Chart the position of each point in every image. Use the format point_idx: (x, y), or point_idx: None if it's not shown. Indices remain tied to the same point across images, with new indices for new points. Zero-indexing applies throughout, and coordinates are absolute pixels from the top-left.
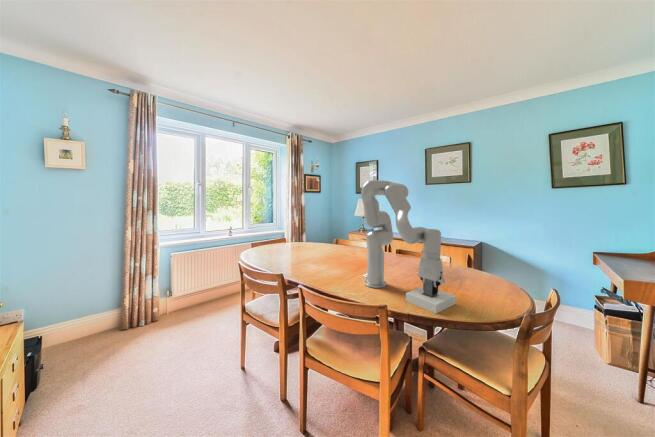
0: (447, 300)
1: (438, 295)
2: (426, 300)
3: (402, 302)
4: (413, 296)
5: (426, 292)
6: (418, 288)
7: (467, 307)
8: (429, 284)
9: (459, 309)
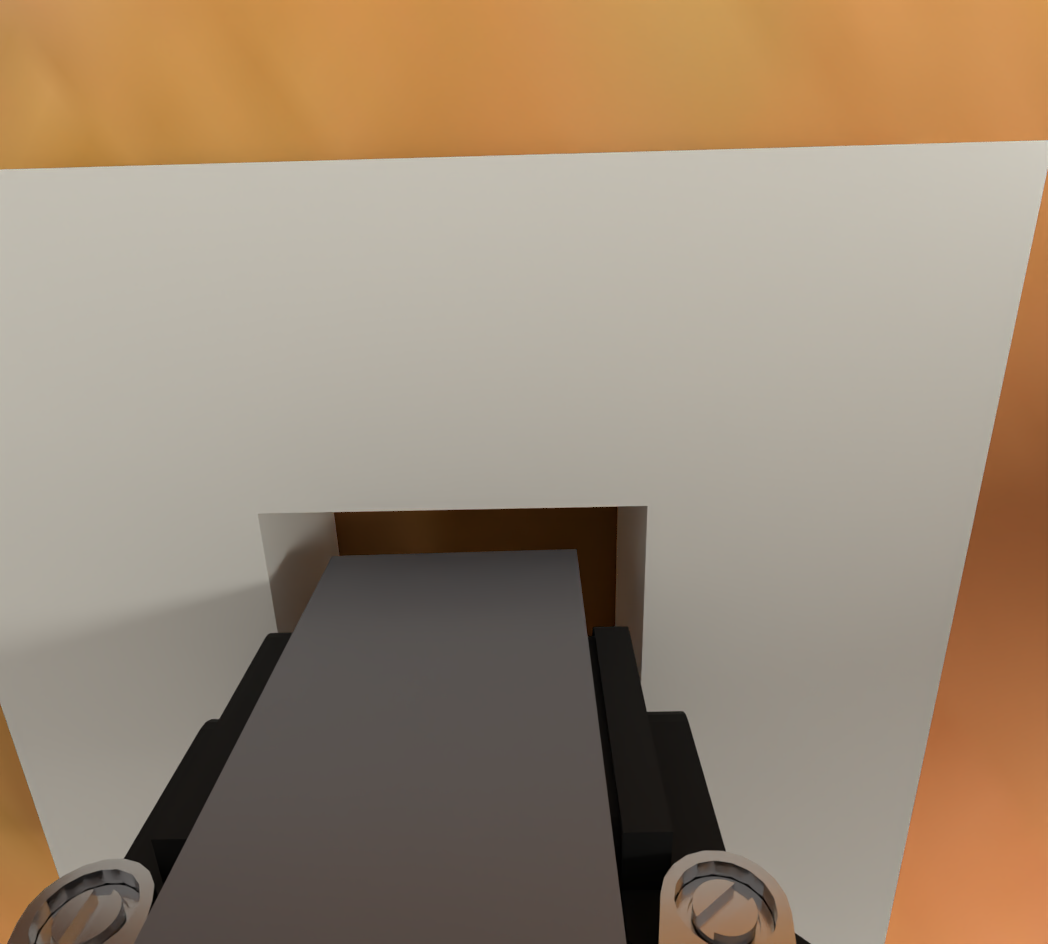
0: (24, 715)
1: None
2: (216, 211)
3: (930, 9)
4: (704, 153)
5: (494, 604)
6: (917, 763)
7: (18, 881)
8: (319, 870)
9: (9, 733)
